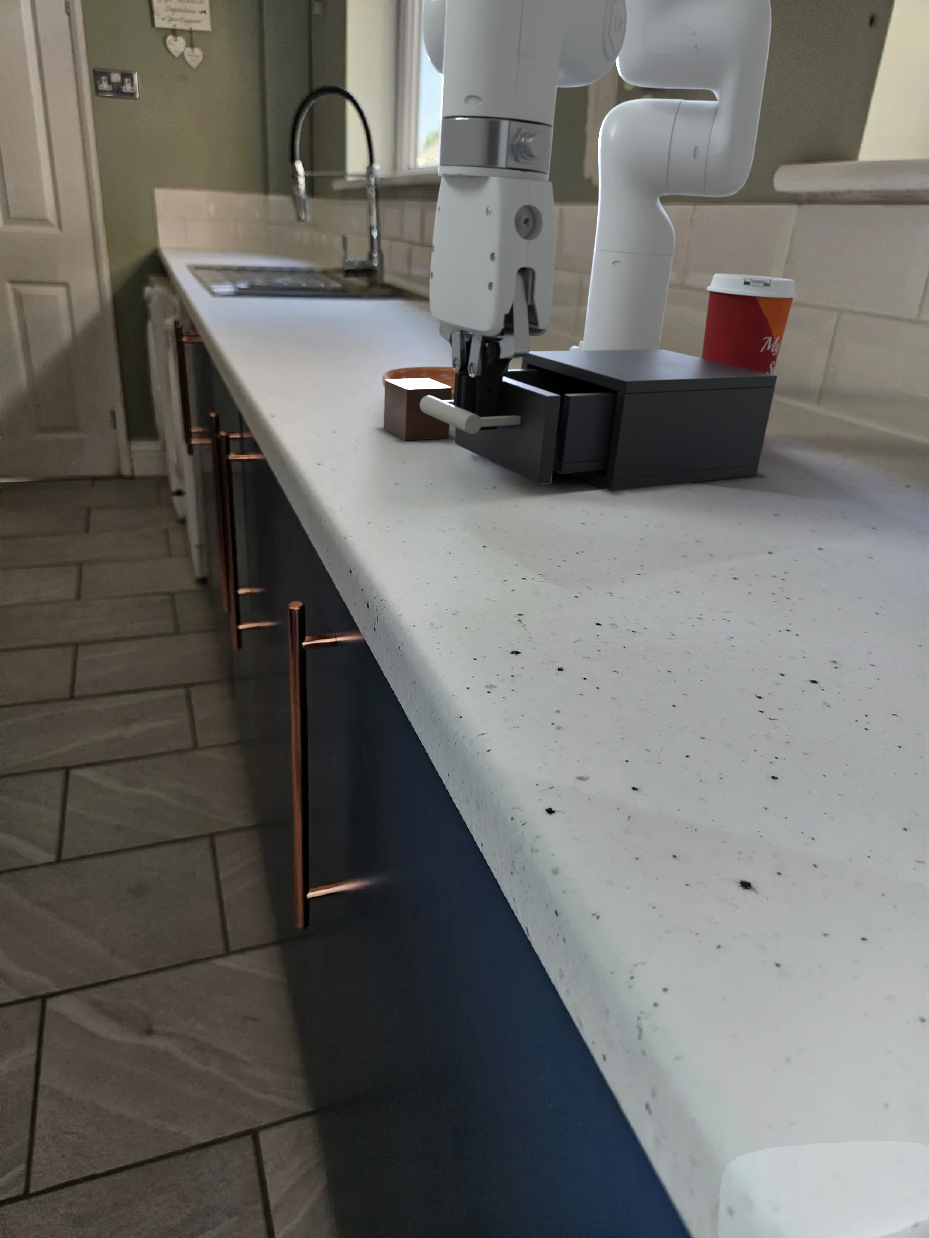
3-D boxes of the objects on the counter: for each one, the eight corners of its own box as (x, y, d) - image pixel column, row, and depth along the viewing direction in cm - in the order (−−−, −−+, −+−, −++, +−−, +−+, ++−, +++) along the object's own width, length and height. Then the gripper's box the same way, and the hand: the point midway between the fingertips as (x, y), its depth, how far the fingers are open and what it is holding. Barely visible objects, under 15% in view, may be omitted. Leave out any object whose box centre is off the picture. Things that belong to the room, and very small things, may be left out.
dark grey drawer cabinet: (611, 491, 67) (627, 381, 63) (513, 448, 77) (522, 351, 74) (756, 475, 74) (777, 375, 71) (649, 437, 85) (663, 349, 81)
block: (383, 429, 80) (384, 379, 79) (426, 426, 83) (428, 378, 81) (404, 441, 77) (406, 389, 75) (449, 437, 79) (452, 387, 77)
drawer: (480, 491, 61) (487, 399, 58) (401, 447, 71) (404, 366, 68) (686, 469, 70) (700, 389, 68) (591, 433, 80) (600, 362, 77)
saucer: (419, 386, 101) (420, 359, 100) (550, 404, 97) (553, 377, 95) (354, 408, 88) (354, 378, 87) (503, 431, 83) (506, 399, 82)
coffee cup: (770, 450, 83) (807, 282, 76) (683, 441, 84) (711, 275, 78) (761, 432, 90) (793, 278, 84) (680, 424, 91) (706, 271, 85)
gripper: (608, 160, 55) (573, 448, 62) (484, 162, 66) (468, 406, 74) (507, 148, 51) (484, 456, 59) (395, 153, 62) (388, 409, 70)
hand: (475, 427), depth 66 cm, fingers closed
